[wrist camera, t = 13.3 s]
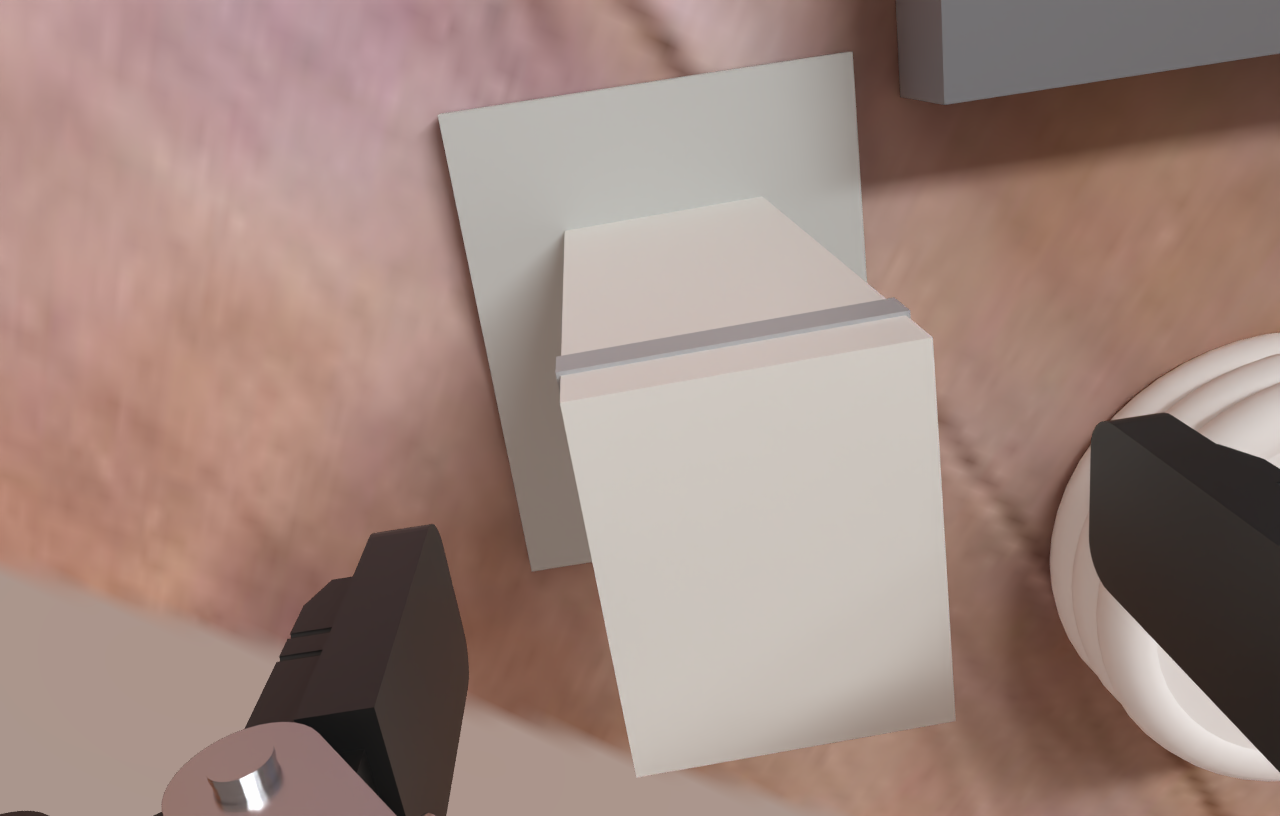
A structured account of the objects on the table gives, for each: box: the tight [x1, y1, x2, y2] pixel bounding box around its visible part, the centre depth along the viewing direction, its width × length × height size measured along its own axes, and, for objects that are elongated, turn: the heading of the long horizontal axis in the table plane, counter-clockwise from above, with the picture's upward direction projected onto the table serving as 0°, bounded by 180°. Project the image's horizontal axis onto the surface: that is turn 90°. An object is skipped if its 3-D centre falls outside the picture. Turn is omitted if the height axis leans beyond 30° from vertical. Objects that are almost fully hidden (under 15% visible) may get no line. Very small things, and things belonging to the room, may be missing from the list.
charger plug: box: [555, 197, 956, 778], centre depth 16 cm, size 4×5×10 cm
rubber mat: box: [438, 52, 867, 572], centre depth 21 cm, size 8×10×1 cm
